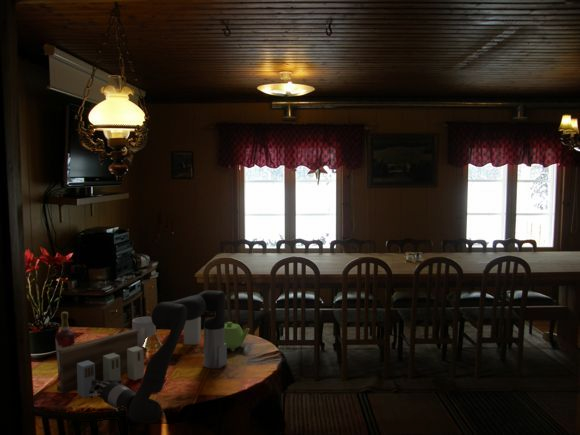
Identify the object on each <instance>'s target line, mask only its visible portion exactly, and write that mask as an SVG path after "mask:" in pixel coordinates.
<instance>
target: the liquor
mask: <svg viewBox="0 0 580 435" xmlns="http://www.w3.org/2000/svg"><path fill="white" fill-rule="evenodd" d="M60 319H61V325H60V327H61V328H60V331H59V332H57V333H56V334H55V335H54V336H55V337H54V338H55V341H54V342H55V351H56V362H57V363H56V364H57V378H56V380H58V381H59V382H60V362H59V352H58V349H60V348H64V347H68V346H72V345H76V333H75V332H73V331H72V330H70V328H69V320H68V319H69V312H68V311H62V312H60Z"/></svg>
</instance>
